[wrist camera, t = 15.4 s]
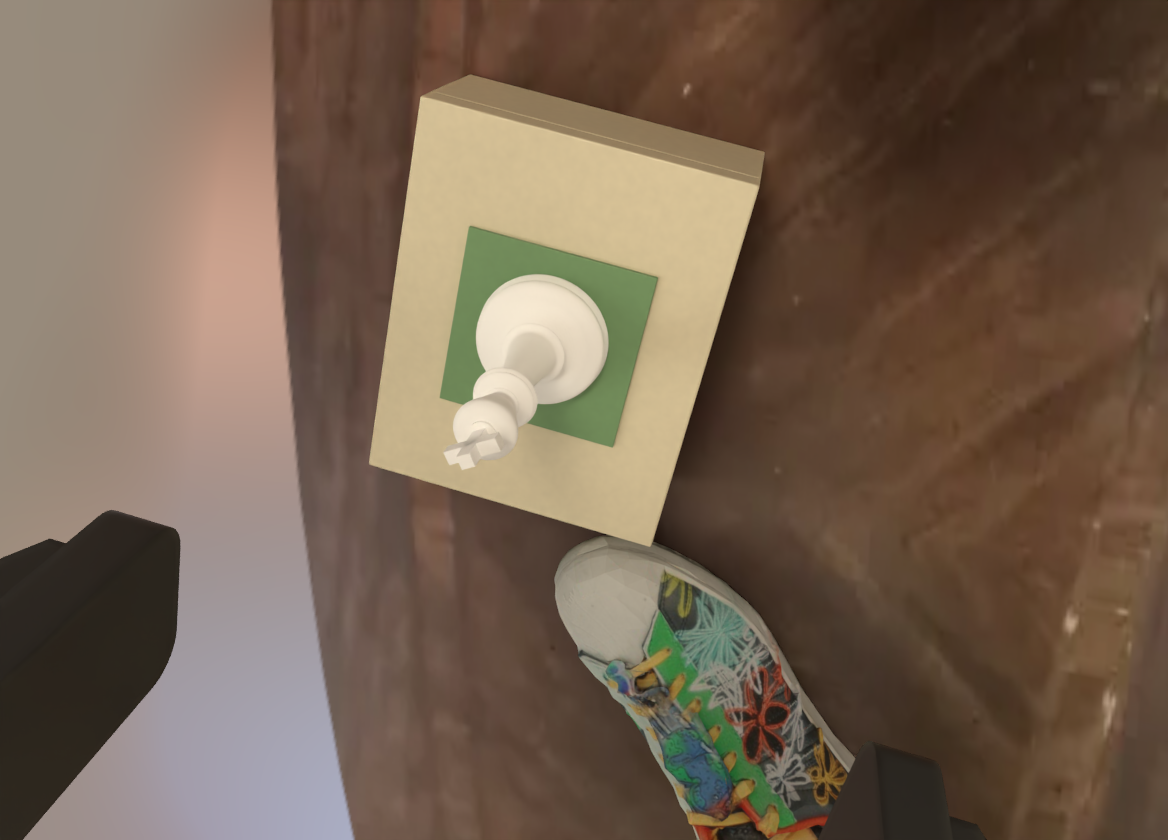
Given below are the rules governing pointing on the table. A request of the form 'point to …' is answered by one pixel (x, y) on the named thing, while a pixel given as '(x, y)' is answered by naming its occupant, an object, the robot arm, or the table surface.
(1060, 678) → the table surface
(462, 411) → the chess piece
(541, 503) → the box with green top
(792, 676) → the sneaker
